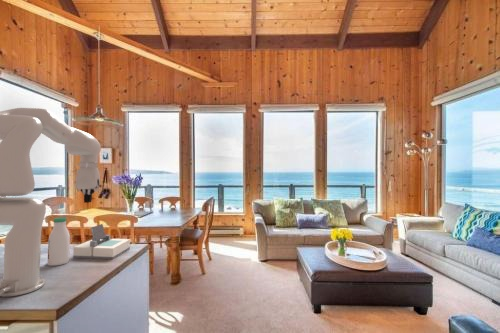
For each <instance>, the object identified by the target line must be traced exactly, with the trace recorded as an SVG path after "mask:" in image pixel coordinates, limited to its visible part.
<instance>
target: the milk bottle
mask: <svg viewBox="0 0 500 333" xmlns="http://www.w3.org/2000/svg"><path fill="white" fill-rule="evenodd" d="M67 219H68V218H67V217H64V216H61V217H60V216H59V217H54V218H53V227H52V230H51V232H50V234H49V236H48V241H47V244H48V245H47V265H48V266H52V267H53V266H55V267H56V266H60V265H65V264H68V263H69V261H70V249H71V248H70V247H71V235H70V231H69V229H68V228H67V224H66V223H67Z"/></svg>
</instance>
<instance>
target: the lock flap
mask: <svg viewBox="0 0 500 333" xmlns="http://www.w3.org/2000/svg"><path fill="white" fill-rule="evenodd" d="M90 231H91V236H92V238H93V239H94V241H97V244H99V243H101V242H103V241H105V240H107V239H108V238H107V237H106V235H107V234H106V232H105V228H104V224H102V223H101V224H98V225H95V226H92V227H90Z"/></svg>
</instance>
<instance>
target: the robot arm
mask: <svg viewBox="0 0 500 333" xmlns="http://www.w3.org/2000/svg"><path fill="white" fill-rule="evenodd" d="M41 135H43V136H45V137H47V138H48V139H50V140H51V141H53V142H54V143H57V144H61V145H64V149H65V151H66V152H67V153H68V154H69V155H72V156H80V157H79V160H80V162H79V163H78V164H77V166H78V167H79V168H77V171H76V176H75V188H76V189H77V191H79V192H81V193H82V195H83V203H85V204H86V203H92V200H93V194H95V192H99V191H100V186H101V176H100V174H101V173H100V170H99V168H98V167H99V166H98V164H99V162H98V161H99V154H100V153H101V150H102V147H101V144H100V142H99V141H98V139H97V138H96V137H95V136H94V135H91V134H90V133H89V132H85V131H83V130H80V129H77V128H76V127H71V126H70V125H68V124H67V123H66V122H65V121H64V120H62V119H61V118H59V117H58V116H57V115H56V114H55V113H53V112H52V111H50V109H49V110H48V109H46V108H36V107H35V108H34V107H33V108H32V107H16V108H11V109H5V110H2V111H0V226H12V227H11V229H10V230H9V231H8V233H7V234H6V236H5V238H4V245H3V246H4V249H3V250H4V252H3V253H4V255H3V272H2V273H3V275H2V276H3V277H2V280H0V297H4V298H7V297H16V296H21V295H22V296H23V295H26V294H29V293H32V292H34V291H37V290H39V289H41V288H42V287H43V286H45V285H46V284H45V283H46V282H45V281H46V280H45V279H44V278H42V277H40V275H41V274H40V273H41V253H42V252H41V249H42V247H41V246H42V231H43V230H42V228H43V225H44V224H43V223H44V220H45V219H44V218H45V215H46V210H47V207H46V204H45V202H44V201H42V200H41V199H38V198H36V197H35V198H34V197H24V196H26V195H29V194H31V193H32V192H33V191H34V189H35V186H36V185H35V184H36V183H35V177H34V174H33V173H34V172H33V168H32V163H31V156H30V155H31V154H30V153H31V149H32V148H33V145H34V144H35V142H36V140H38V138H40V136H41ZM22 196H23V197H22Z"/></svg>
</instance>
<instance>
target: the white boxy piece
mask: <svg viewBox="0 0 500 333" xmlns="http://www.w3.org/2000/svg"><path fill="white" fill-rule="evenodd" d="M105 235H106V237H107V238H108V239H107V240H105V241H103V242H101V243H99V244H97V241H94V239H93V237H92V238H91V239H90V240H87V241H84V242H82V243H80V244H78V245H75V246H73V256H72V258H74V259H97V260H98V259H99V260H114V259H116V258H117V257H119V256H120V255H122V254H124V253H126V252H127V251H129V250H130V248H131V239H130V238H128V239H127V238H111V237H112V236H111V234H105Z"/></svg>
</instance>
